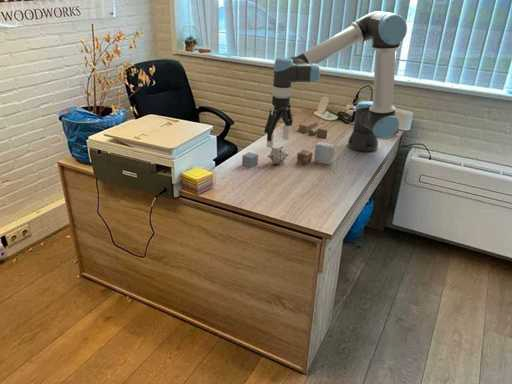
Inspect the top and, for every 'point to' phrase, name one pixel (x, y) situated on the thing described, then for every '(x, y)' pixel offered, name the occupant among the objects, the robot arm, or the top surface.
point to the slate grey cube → (250, 160)
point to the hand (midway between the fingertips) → (277, 143)
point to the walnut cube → (304, 157)
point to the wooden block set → (313, 128)
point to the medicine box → (324, 153)
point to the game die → (277, 155)
